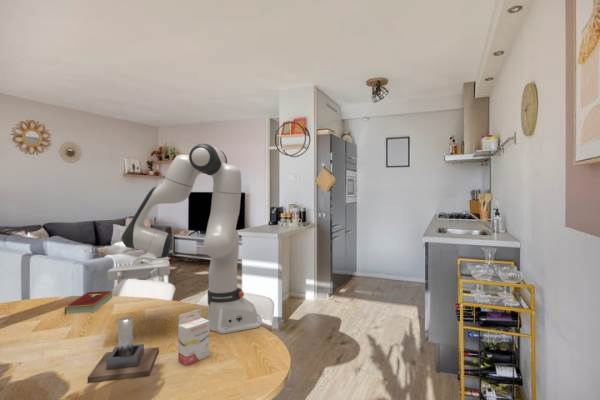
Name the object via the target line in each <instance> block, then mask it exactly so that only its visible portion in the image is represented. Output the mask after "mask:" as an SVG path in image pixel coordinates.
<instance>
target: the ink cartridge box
mask: <svg viewBox="0 0 600 400" xmlns="http://www.w3.org/2000/svg"><path fill="white" fill-rule="evenodd" d="M190 315H193V316H190ZM189 316H190V317H189ZM177 329H178V330H177V331H178V332H177V333H178V334H177V336H178V337H177V340H178V341H177V349H178V350H177V351H178V352H177V354H178V356H177V357H178V362H180V363H181V364H183V365H184V366H186V367H187V366H190V365H191V364H194V363H196V362H198V361H200V360H203V359H205V358H207V356H208V357H209V356H210V330H209V320H207V318H204V317H202V309H201V308H199V309H195V310H191V311H188V312H186V313H185V312H184V313H182V314H179V316H178V326H177Z"/></svg>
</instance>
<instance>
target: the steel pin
mask: <svg viewBox="0 0 600 400" xmlns="http://www.w3.org/2000/svg"><path fill="white" fill-rule="evenodd" d="M133 318H134V317H132V316H124V317H123V316H122V317H121V318H119V319H117V334H118V335H117V337H118V345H117V346H119V357H120V356H130V355H133V345H134V323H133V322H134V321H133V320H134V319H133Z"/></svg>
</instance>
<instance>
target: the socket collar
mask: <svg viewBox="0 0 600 400" xmlns="http://www.w3.org/2000/svg"><path fill="white" fill-rule="evenodd" d="M144 349H145V343H142V344H141V343H139V344H138V343H137V344H133V355H130V356H120V357H119V345H117V346H115V347H114V348H113V349H112V351H110V352H111V354H110V355H109V357H108V358H107V359H106V370H110V369H119V368H128V367H137V366H138V365H139V363H140V361H141V359H142V357H143V354H144Z"/></svg>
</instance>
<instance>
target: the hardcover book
mask: <svg viewBox="0 0 600 400" xmlns="http://www.w3.org/2000/svg"><path fill="white" fill-rule="evenodd" d="M113 292H114V290H104V291H103V290H101V291H88V292H86V293H83V295H81V296H79V297H78V298H76V299H75V300H73V301H72V302H70V303H69V304H67V305H65V306H64V315H65V314H66V315H75V314H76V313H77V314H91V313H92V314H93V313H95V312H97V311H98V310H99V309H101V308H102V307H103V306H104V305H105V304H107V303H108V302H109V301H110V300H112V299H113ZM101 306H102V307H101ZM77 314H76V315H77Z"/></svg>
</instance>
